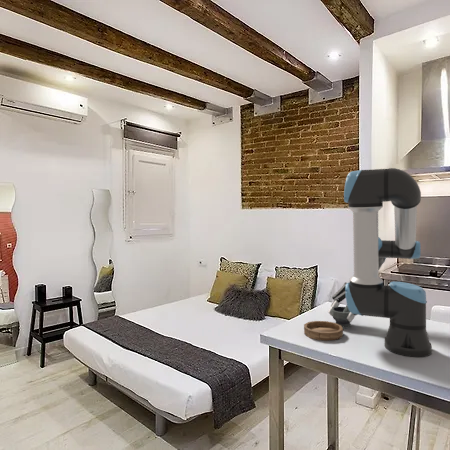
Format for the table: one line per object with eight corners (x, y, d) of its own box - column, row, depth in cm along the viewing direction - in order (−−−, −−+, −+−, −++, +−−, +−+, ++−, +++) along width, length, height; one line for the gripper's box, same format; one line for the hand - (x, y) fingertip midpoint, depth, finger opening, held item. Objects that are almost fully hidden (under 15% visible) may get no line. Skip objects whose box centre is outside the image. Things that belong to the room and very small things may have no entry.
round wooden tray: (350, 337, 139) (350, 330, 139) (317, 342, 134) (317, 335, 134) (327, 326, 153) (327, 319, 153) (297, 330, 148) (297, 323, 148)
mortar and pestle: (339, 329, 148) (339, 301, 147) (327, 323, 157) (326, 296, 156) (362, 327, 151) (362, 299, 150) (349, 320, 160) (349, 294, 159)
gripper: (390, 286, 151) (364, 329, 144) (348, 278, 171) (324, 315, 164) (381, 275, 148) (355, 318, 141) (340, 268, 168) (316, 305, 161)
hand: (339, 317), depth 152 cm, fingers closed on mortar and pestle, 10 cm apart
